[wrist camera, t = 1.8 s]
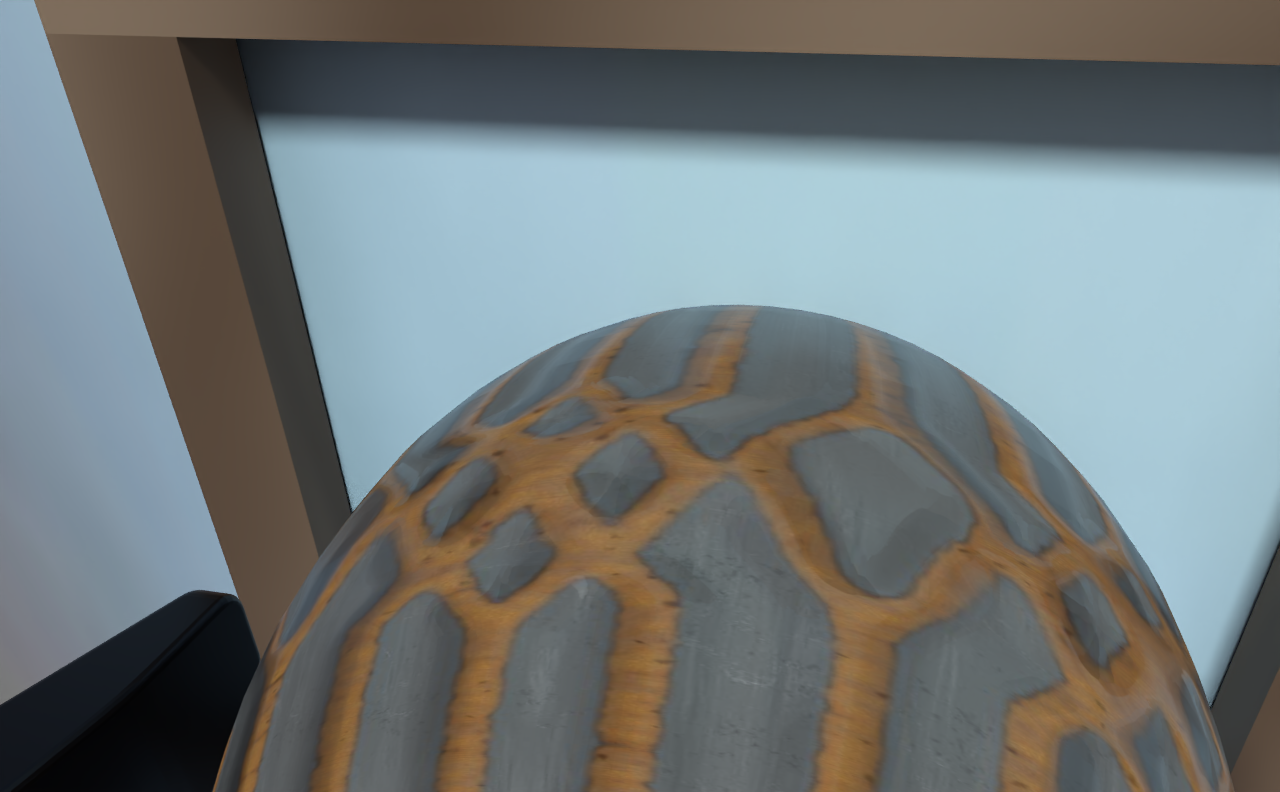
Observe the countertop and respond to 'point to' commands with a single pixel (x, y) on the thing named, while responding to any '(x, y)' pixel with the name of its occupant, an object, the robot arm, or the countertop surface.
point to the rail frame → (479, 15)
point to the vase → (729, 590)
